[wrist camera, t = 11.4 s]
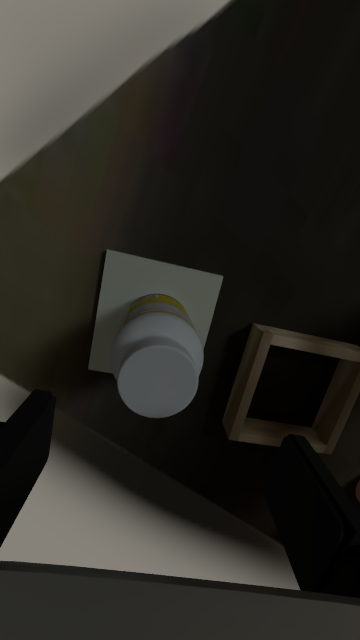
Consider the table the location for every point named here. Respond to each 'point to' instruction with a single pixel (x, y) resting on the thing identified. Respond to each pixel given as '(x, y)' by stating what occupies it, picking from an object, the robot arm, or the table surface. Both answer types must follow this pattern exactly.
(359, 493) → the pepper shaker
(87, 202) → the table surface
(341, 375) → the oak cradle
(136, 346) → the pill bottle
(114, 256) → the ceramic tile
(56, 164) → the table surface
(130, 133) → the table surface
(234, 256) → the table surface
